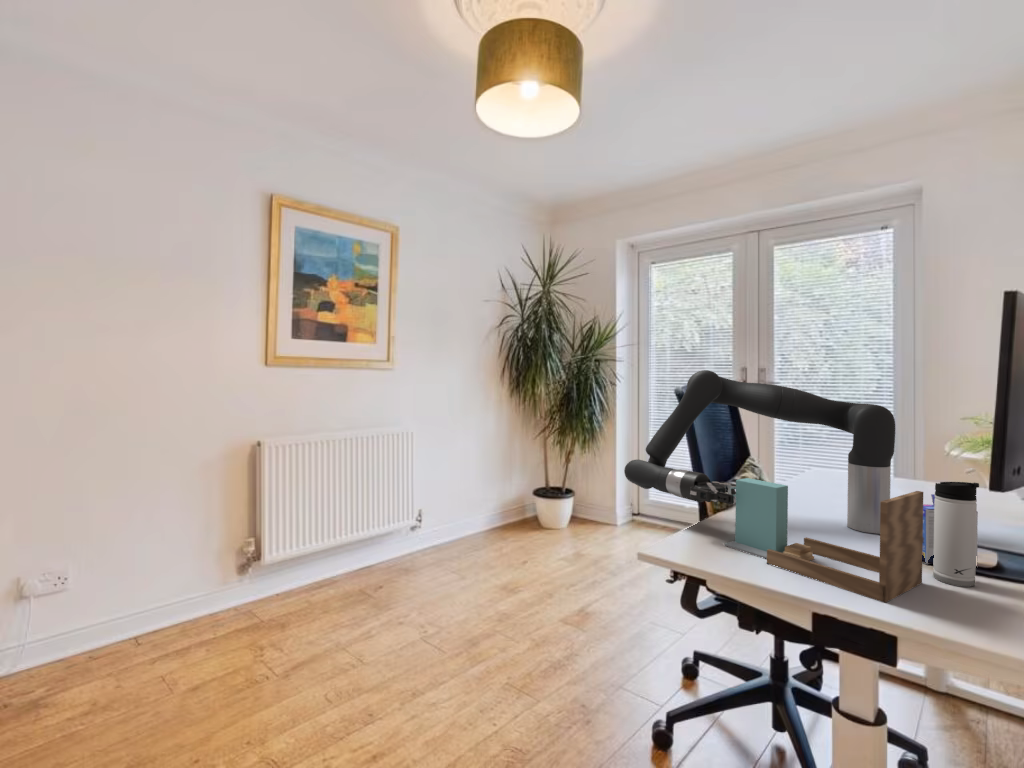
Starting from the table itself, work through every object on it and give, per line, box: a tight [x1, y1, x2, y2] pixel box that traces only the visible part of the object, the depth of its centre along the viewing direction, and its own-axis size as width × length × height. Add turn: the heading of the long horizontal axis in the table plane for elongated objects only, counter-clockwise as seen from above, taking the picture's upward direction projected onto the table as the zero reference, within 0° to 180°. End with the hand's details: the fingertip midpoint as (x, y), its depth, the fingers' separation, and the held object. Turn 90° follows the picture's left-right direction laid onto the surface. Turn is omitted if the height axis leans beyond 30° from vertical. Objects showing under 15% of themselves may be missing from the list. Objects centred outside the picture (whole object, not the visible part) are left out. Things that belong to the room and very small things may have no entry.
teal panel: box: [734, 477, 789, 553], centre depth 118 cm, size 5×10×15 cm, turn 32°
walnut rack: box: [766, 490, 924, 603], centre depth 103 cm, size 16×22×18 cm
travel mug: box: [932, 481, 980, 588], centre depth 99 cm, size 6×7×20 cm
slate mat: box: [724, 540, 783, 560], centre depth 117 cm, size 11×12×1 cm
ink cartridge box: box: [922, 493, 979, 563], centre depth 109 cm, size 10×6×14 cm, turn 78°
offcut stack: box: [783, 542, 815, 561], centre depth 111 cm, size 6×4×3 cm, turn 123°
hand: (743, 497), depth 121 cm, fingers open, 8 cm apart
